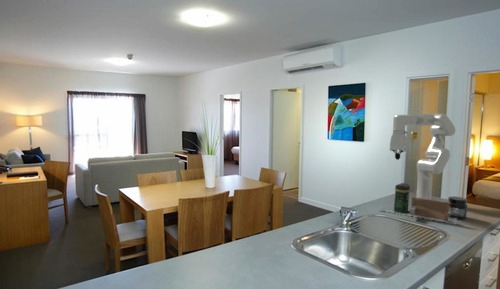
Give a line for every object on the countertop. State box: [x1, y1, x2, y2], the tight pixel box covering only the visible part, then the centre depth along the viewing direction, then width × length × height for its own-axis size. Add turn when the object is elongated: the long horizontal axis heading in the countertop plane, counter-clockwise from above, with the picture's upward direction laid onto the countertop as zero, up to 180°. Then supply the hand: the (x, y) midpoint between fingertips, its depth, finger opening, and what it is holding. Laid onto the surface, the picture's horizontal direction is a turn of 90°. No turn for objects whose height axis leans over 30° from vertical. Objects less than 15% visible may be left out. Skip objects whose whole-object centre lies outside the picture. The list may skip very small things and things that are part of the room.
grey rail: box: [378, 204, 458, 225], centre depth 192 cm, size 3×43×3 cm, turn 53°
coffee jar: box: [393, 182, 410, 213], centre depth 203 cm, size 10×8×19 cm
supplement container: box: [447, 196, 468, 220], centre depth 192 cm, size 10×10×12 cm
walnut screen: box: [409, 196, 449, 221], centre depth 184 cm, size 10×20×11 cm, turn 53°
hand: (397, 159), depth 213 cm, fingers closed
